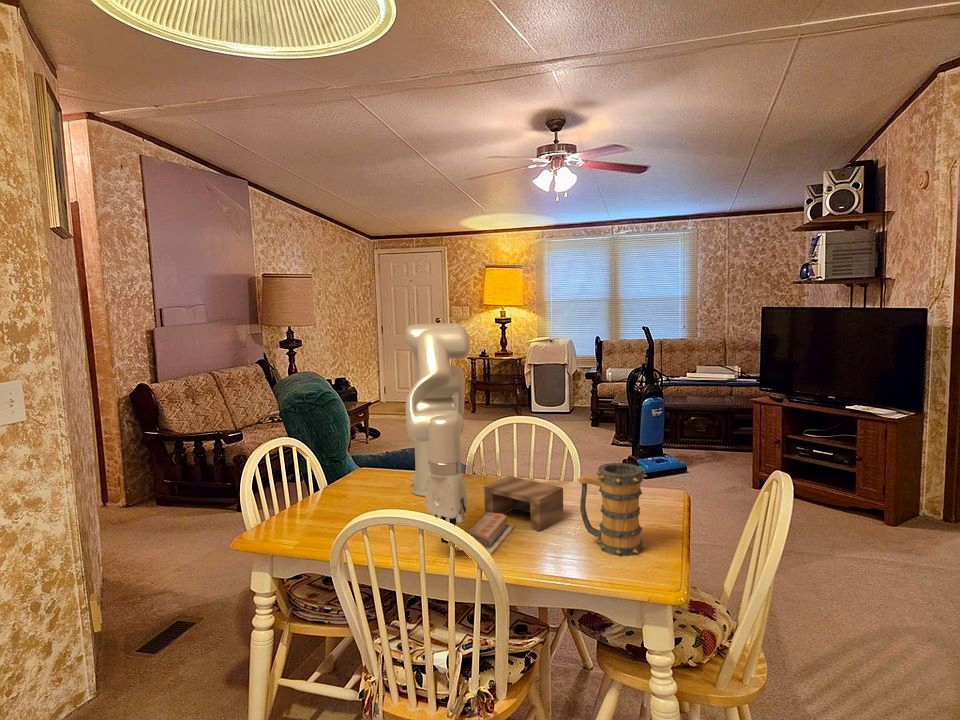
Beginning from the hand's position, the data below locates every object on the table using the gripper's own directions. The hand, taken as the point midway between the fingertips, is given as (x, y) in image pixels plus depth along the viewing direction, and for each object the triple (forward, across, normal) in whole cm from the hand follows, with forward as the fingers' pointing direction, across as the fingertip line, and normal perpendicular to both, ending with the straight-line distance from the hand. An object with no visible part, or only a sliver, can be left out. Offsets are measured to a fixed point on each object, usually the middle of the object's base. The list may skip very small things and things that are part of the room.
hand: (448, 541), depth 142 cm
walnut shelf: (+4, 0, +32) cm, 33 cm away
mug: (+4, +29, +29) cm, 41 cm away
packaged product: (+5, 0, +14) cm, 15 cm away
